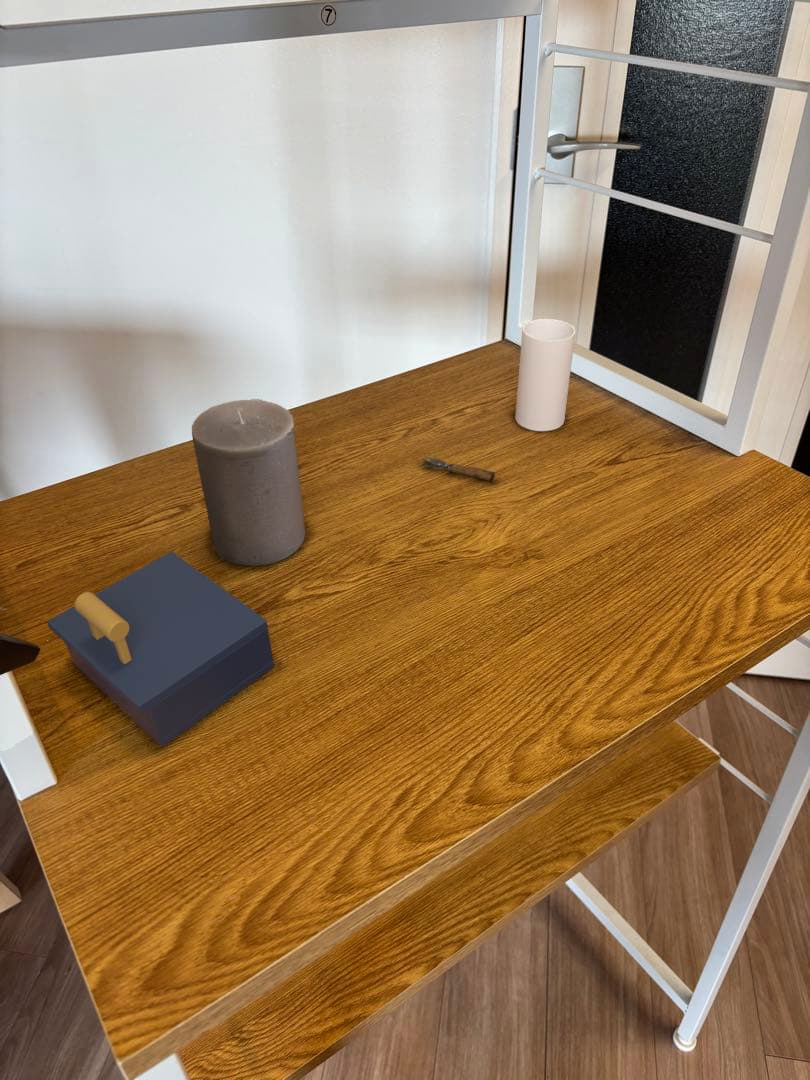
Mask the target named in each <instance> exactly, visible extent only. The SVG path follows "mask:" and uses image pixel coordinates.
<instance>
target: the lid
mask: <svg viewBox="0 0 810 1080" xmlns="http://www.w3.org/2000/svg"><path fill="white" fill-rule="evenodd" d="M46 623H47V626H48V628H49V630H50V631H52V632H53V633H54V634H55V635H56V636H57V637H58V638H59V639H60V640H61V641H63V643H64V644H65V645H66V644H67V645H68V646H69V647H70V648H71V649H72V650H73V651H74V652H75V653H76V654H78V655H79V656H80V657H81V658H82V659H83V660H84V661H85V662H86V663H87V664H88V665H89V666H90V667H91V668H93V669H94V670H95V671H96V672H97V673H98V674H99V675H100V676H101V677H102V678H103V679H104V680H105V681H106V682H108V683H109V684H110V685H111V686H112V687H113V688H114V689H115V690H116V691H117V692H118V693H119V694H120V695H121V696H122V697H124V698H125V699H126V700H127V701H128V702H129V703H130V704H131V705H132V706H133V707H134V708H135V709H136V710H137V711H139V712H140V713H142V712H144V711H145V710H147V709H148V708H150V707H151V706H153V705H154V704H156V703H157V702H159V701H160V700H161V699H163V698H164V697H166V696H167V695H169V694H170V693H172V692H173V691H175V690H176V689H178V688H179V687H181V686H182V685H183V684H185V683H186V682H188V681H189V680H191V679H192V678H194V677H195V676H197V675H198V674H200V673H201V672H203V671H204V670H206V669H207V668H208V667H210V666H211V665H213V664H214V663H216V662H217V661H219V660H220V659H222V658H223V657H225V656H226V655H228V654H229V653H231V652H232V651H233V650H235V649H236V648H238V647H239V646H241V645H242V644H244V643H245V642H247V641H248V640H250V639H251V638H253V637H254V636H255V635H257V634H258V633H260V632H261V631H263V630H264V629H266V628H268V626H269V625H268V620H267V619H266V618H264V617H263V616H261V615H260V614H258V612H256V611H255V610H253V609H252V608H251V607H249V606H247V605H246V604H245V603H244V602H243V601H241V600H240V599H238V598H237V597H235V596H234V595H233V594H231V593H230V592H229V591H227V590H225V588H223V587H221V586H220V585H219V584H217V583H216V582H214V581H213V580H212V579H211V578H209V577H208V576H206V575H205V574H203V573H202V572H201V571H199V570H198V569H197V568H195V567H194V566H193V565H191V564H190V563H189V562H187V561H185V560H184V559H183V558H181V557H180V556H178V555H177V554H176V553H174V552H173V551H169V552H167V553H166V554H163V555H162V556H161V557H159V558H157V559H155V560H153V561H152V562H150V563H148V564H146V565H144V566H143V567H141V568H139V569H138V570H135V571H134V572H132V573H130V574H128V575H127V576H125V577H123V578H121V579H119V580H117V581H116V582H114V583H113V584H111V585H109V586H108V587H106V588H104V589H102V590H100V591H98V592H96V593H95V594H94V593H93V592H90V591H86V592H83V593H81V594H80V595H78V596H77V598H76V599H75V601H74V605H73V606H71V607H69V608H68V609H67V610H65V611H63V612H61V613H59V614H58V615H55V616H54V617H53V618H51V619H49V620H47V621H46ZM67 645H66V646H67Z"/></svg>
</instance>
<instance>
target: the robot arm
mask: <svg viewBox="0 0 810 1080" xmlns="http://www.w3.org/2000/svg"><path fill="white" fill-rule="evenodd" d="M40 652H41V647H40V646H38V645H37V644H35V643H33V642H29V641H27V640H24V639H21V638H18V637H15V636H13V635H12V636H11V635H9V634H5V633H2V632H0V676H3V675H5V674H8V673H10V672H12V671H15V670H17V669H20V668H22V667H25V666H27V665H30V664H33V663H34V662H35V661H36V659H37V658H38V656H39V655H40Z"/></svg>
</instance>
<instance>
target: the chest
mask: <svg viewBox="0 0 810 1080" xmlns="http://www.w3.org/2000/svg"><path fill="white" fill-rule="evenodd" d="M270 639H271V638H270V633H269V628H268V627H267V628H266V629H264V630H263V631H261V632H260V633H258V634H257V635H255V636H254V637H253V638H251V639H250V640H248V641H247V642H245V643H244V644H242V645H241V646H239V647H238V648H236V649H235V650H233V651H232V652H231V653H229V654H228V655H226V656H225V657H223V658H222V659H220V660H219V661H217V662H216V663H214V664H213V665H211V666H210V667H208V668H207V669H206V670H204V671H203V672H201V673H200V674H198V675H197V676H195V677H194V678H192V679H191V680H189V681H188V682H186V683H185V684H183V685H182V686H181V687H179V688H178V689H176V690H175V691H173V692H172V693H170V694H169V695H167V696H166V697H164V698H163V699H161V700H160V701H159V702H157V703H156V704H154V705H153V706H151V707H150V708H148V709H147V710H145V711H144V712H142V713H140V712H139V711H137V710H136V709H135V708H134V707H133V706H132V705H131V704H130V703H129V702H128V701H127V700H126V699H125V698H124V697H122V696H121V695H120V694H119V693H118V692H117V691H116V690H115V689H114V688H113V687H112V686H111V685H110V684H109V683H108V682H106V681H105V680H104V679H103V678H102V677H101V676H100V675H99V674H98V673H97V672H96V671H95V670H94V669H93V668H91V667H90V666H89V665H88V664H87V663H86V662H85V661H84V660H83V659H82V658H81V657H80V656H79V655H78V654H76V653H75V652H74V651H73V650H72V649H71V648H70V647H69V646H68V645H67V644H66V643H65V645H66V648H67V651H68V653H69V656H70V658H71V661H72V663H73V664H74V665H75V666H76V668H78V669H79V670H80V671H81V672H82V673H83V674H84V675H85V676H86V677H87V678H89V680H91V681H92V682H93V683H94V684H95V685H96V686H97V687H98V688H99V689H100V690H101V691H102V692H103V693H104V694H105V695H106V696H107V697H108V698H110V699H111V701H113V702H114V703H115V704H116V705H117V706H118V707H119V708H120V709H121V710H122V711H123V712H124V713H125V714H126V715H128V716H129V717H130V718H131V719H132V720H133V721H134V722H135V723H136V724H137V725H138V726H139V727H140V728H141V729H143V731H144V732H145V733H147V734H148V735H149V736H150V737H151V739H153V740H154V741H155V743H157V744H158V746H160V747H162V748H164V747H165V746H167V745H168V744H169V743H171V742H172V741H174V740H175V739H176V738H178V737H179V736H180V735H182V734H183V733H185V732H186V731H188V730H189V729H190V728H191V727H193V726H194V725H196V724H197V723H199V722H200V721H201V720H202V719H204V718H205V717H207V716H208V715H210V714H211V713H212V712H214V711H215V710H216V709H218V708H220V706H222V705H223V704H225V703H226V702H228V701H229V700H230V699H232V698H233V697H234V696H236V695H237V694H238V693H240V692H241V691H243V690H244V689H246V688H247V687H249V685H251V684H252V683H254V682H256V681H257V680H258V679H259V678H261V677H262V676H264V675H265V674H266V673H268V672H269V671H271V670H272V669H273V668H274V667H275V663H274V656H273V651H272V644H271V640H270Z"/></svg>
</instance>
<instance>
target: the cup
mask: <svg viewBox="0 0 810 1080" xmlns="http://www.w3.org/2000/svg"><path fill="white" fill-rule="evenodd" d="M575 337H576V329H575V327H574V326H573V325H572V324H570V323H569V322H566V321H563V320H560V319H553V318H539V319H534V320H530V321H528V322H526V323H525V324H524V325H523V326H522V330H521V343H520V355H519V367H518V376H517V377H518V378H517V390H516V391H517V392H516V404H515V416H514V418H515V421H516V423H517V424H518V425H519V426H521V427H522V428H524V429H527V430H530V431H535V432H549V431H550V432H551V431H554V430H557V429H559V428H560V427H562V426H563V425H564V423H565V419H566V411H567V401H568V396H569V395H568V394H569V388H570V387H569V386H570V378H571V370H572V363H573V354H574V347H575V346H574V345H575Z"/></svg>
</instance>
